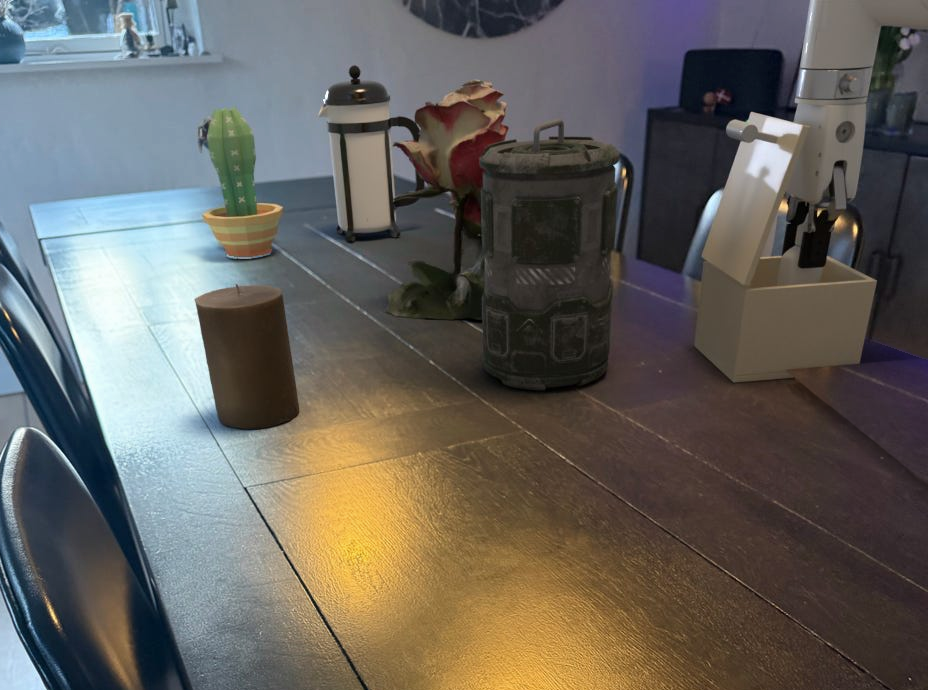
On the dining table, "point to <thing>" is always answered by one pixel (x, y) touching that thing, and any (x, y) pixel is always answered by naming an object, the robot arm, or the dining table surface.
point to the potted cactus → (237, 187)
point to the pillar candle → (248, 355)
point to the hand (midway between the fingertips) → (802, 261)
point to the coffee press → (364, 156)
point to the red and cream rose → (457, 171)
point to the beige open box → (782, 320)
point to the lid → (753, 193)
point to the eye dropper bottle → (789, 264)
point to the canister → (548, 258)
